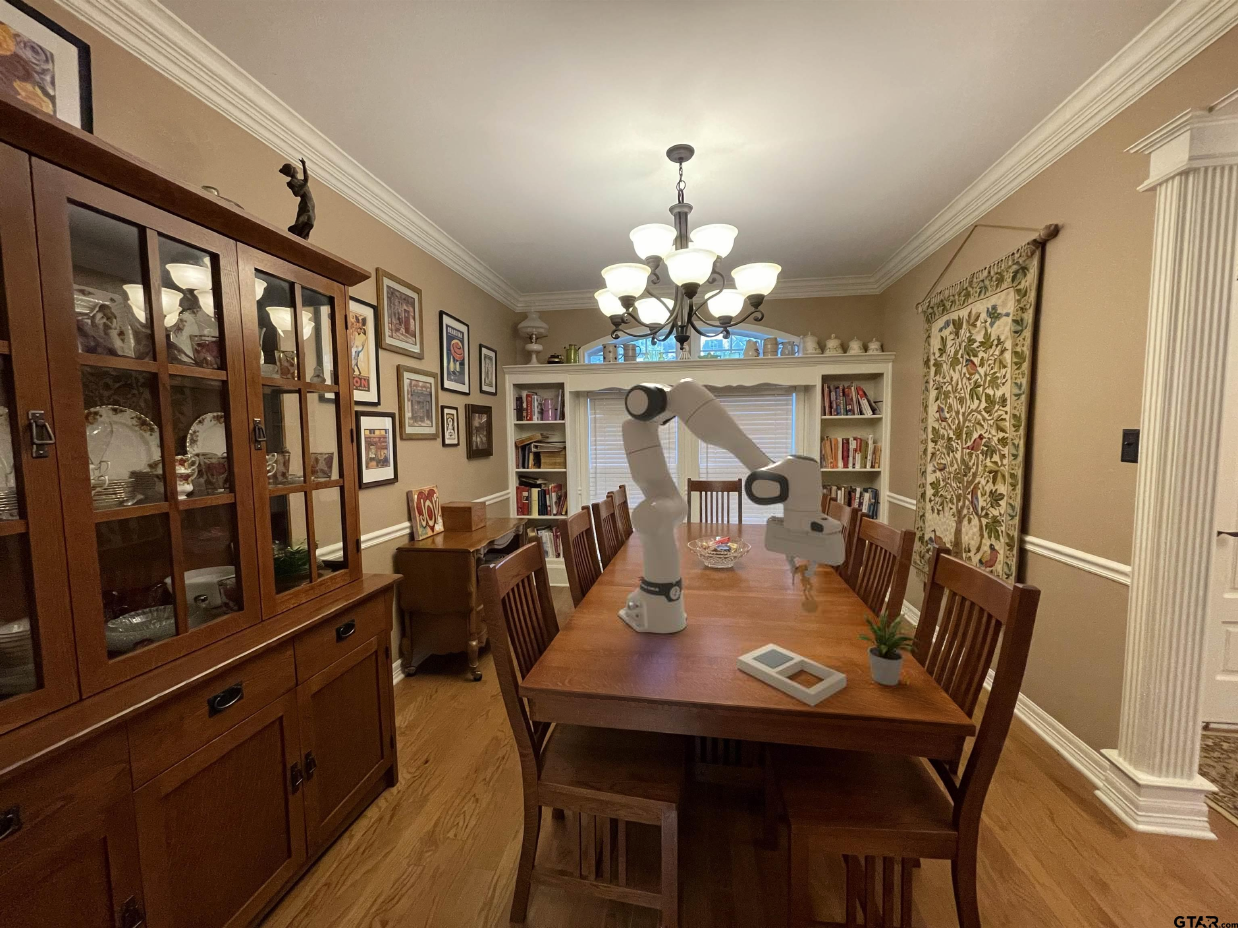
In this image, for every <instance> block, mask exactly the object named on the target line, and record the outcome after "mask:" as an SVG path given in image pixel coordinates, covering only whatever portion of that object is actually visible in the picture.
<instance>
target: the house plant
mask: <svg viewBox="0 0 1238 928" xmlns="http://www.w3.org/2000/svg"><path fill="white" fill-rule="evenodd" d="M866 612H867V614H869V615H871V616H872V618H873V619H874V621H875V624H876V625H875V624H874V622H872V620H871V619H870V618H869V615H867V614H865V613H863V612H862V613H860V615H861V616H862V617H863V618H864V619H865V621H864V620H863V618H862V617H860V616H858V615H856V614H853V613H851V615H853V616H856V617H858V618H860V619H861V620H863V621H864V622H865V624H866V625H867V626H868V628H866V629H867V630H868V629H869V630H870V631H871V633H872V635H873V636H874V637H873V638H874V639H875V642H874V641H873V640H872V638H871V637H870V636H868V635H866V634H865V633H859V634H857V636H856V638H859V640H863V641H869V642H871V643H873V645H874V646H870V647H868V649H867V653H868V659H869V665H870V666H869V667H870V671H871V677H872V679H873V681H875V682H877V683H878V684H881V685H884V686H897V685H898V684H899V680H900V674H901V670H902V666H903V661H904V654H903V653H902V652H901V651H899V650H902V651H905V652H907V653H909V654H910V655H911V656H912V651H911V649H912V650H914V651H916V652H917V653H919V652H918V648H917V647H915V645H912V644H910V643H906V642H909V641H910V642H911V641H912V642H916V643H917V642H918V643H922V642H921V641H919V640H917V639H916V638H913V637H908V636H904V633H906V634H910V632H909V631H907V630H908V629H909V628H913V627H917V626H919V625H918V624H912V625H909V626H907V627H905V628H903V629H902V630H899V631H898V629H899V627H900V625H902V621H903V618H904V617H905V615H906V614H907V612H905V613H902V614H900V615H898V616H897V617H896V618H895V620H894V621H893V622H892V623H891V624H890V625H889V627H888V614H889V609H887V610H886V611H885V615H883V614H882V612H881V611H878V614H879V621H880V625H881V626H880V625H878V622H877V620H876V618H875V617H874V615H873V614H872V613H870V612H869V611H866ZM846 614H848V615H850V613H846ZM887 627H888V629H887ZM909 648H910V649H909Z"/></svg>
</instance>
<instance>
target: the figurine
mask: <svg viewBox="0 0 1238 928" xmlns="http://www.w3.org/2000/svg"><path fill="white" fill-rule="evenodd" d="M797 566H798V569H797V570H796V571H794V572H793V574H792V573H791V574H792V577H791V578H792V582H791V586H792V587H796V583H795V575H797V574H796V573H798V572H799V573H798V574H799V575H800V576H801V579H799V581H800V583H801V586H802V587H803V589H802V591H803V594H804V595H803V596H804V598H803V599H802V600H801V603H800V607H801V609H802V610H803V612H805V613H806V614H811V615H812V614H815V613H816V612H817V611H818V610H819V605H820V604H819V603H818V600H817V599H816V598H814V596H813V595H812V593H811V590H812V589H813V588H814V585H813V583H812V581H811V578H808V577H805V570H807V569H809V567H810V566H808V564H807V563H805V564H803V563H802V564H799V565H797ZM814 576H815V577H817V578H818V580H819V581H821V579H820V577H819V575H818V574H817V573H816V571H815V570H814ZM806 591H807V593H808V596H807V593H806Z"/></svg>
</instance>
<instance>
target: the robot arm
mask: <svg viewBox="0 0 1238 928" xmlns="http://www.w3.org/2000/svg"><path fill="white" fill-rule="evenodd" d="M626 392H627V393H626V395H625V396H624V397H625V398H624V406H625V410H626V412H627V414H628V415H629V416H628V417H626V419H625V420H623V423H622V424H621V437H622V443H623V448H624V453H625V456H626V461H627V464H628V467H629V472H630V475H631V479H632V480H633V483H634V484H636V486H638V488H639V489H640V491H641V493H642V494H643V497H644V499H642V500H641V501H640V502H639V503H638V504H636V506H635V507H634V508H633V510H632V511H631V516H630V521H631V525H632V527H633V529H634V530H635V532H637V534H638V538H639V542H640V545H641V546H640V547H641V551H642V568H643V573H642V574H643V575H642V576H639V577H637V579H638V580H637V581H638V582H640V583H639V587H638V588H637V589H636V590H634V591H633V592H632V593H630V594H629V595H628V596H627V597H626V601H625V607H624V608H622V609H620V610H619V611H618V616H619V617H620V618H621V619H622V620H623V621H624V622H625V623H627V624H628V625H629V626H630V627H631V628H632V629H634V630H635V631H636V632H638V633H653V634H654V633H655V634H670V633H676V632H680V631H682V630H684V629H685V628H686V627H687V622H686V621H687V620H686V619H687V617H688V616H687V613H686V612H685V604H684V595H683V592H682V590H683V578H682V576H681V552H680V549H679V548H678V546H677V542H676V539H675V532H674V531H675V528H676V527H679V526H680V525H682V523H683V522H684V520H685V519H686V518H687V516H688V513H689V504H688V502H687V500H686V499H685V497H684V496H683V495H682V494H681V493H680V490H679V489H678V487H677V485H676V482H675V481H674V479H673V476H672V475H671V472H670V470H669V467H668V464H667V460H666V457H665V453H664V450H663V445H662V443H661V439H660V437H659V428H660V426H665V425H667V424H668V423H670V422H671V421H672V420H673V419H675V418H676V417H677V418H678V419H679V420H680V421H681V422H682V423H683V424H684V425H685V427H686V428H687V429H688V430H689V432H691V434H693V435H694V436H695V437H696V438H697V439H698V440H700V441H701V442H702V443H703V444H707V445H710V446H714V447H717V448H719V449H722V450H724V451H727V452H729V453H730V454H732V455H733V456H734V457H735V458H736V459H737V460H738V461H739V462H740V463H741V464H742V465H743V466H744V467H745V468H746V469H747V471H748V472H750V473H749V474H748V476H747V477H746V479H745V481H744V486H743V487H744V488H743V490H744V493H745V495H746V496H747V498H748V499H749V501H750V502H752V503H753V504H755V505H758V506H764V507H765V506H767V507H768V506H772V505H778V504H781V505H782V507H783V508H782V509H783V512H782V513H783V514H782V515H783V516H776V515H771V516H770V517H768V518H767V519H766V520H765V521H766V524H765V528H766V529H765V534H764V545H763V546H764V548H765V550H766V551H767V552H771V553H776V554H779V555H780V554H781V555H784V556H785V560H786V562H787V564H788V566H789V573H790V574H793V572H794V571H796V570H797V569H798V566H799V565H797V563H796V561H795V559H796V558H798V559H802V560H806V561H808V565H810V566H808V567H809V569H807V570H805V577H807V578H810V579H813V578H814V577H815V574H814V571H815V570H816V569H817V567H818V566H819V564H826V565H829V566H834V567H835V566H839V565H842V564H843V563H844V561H845V559H846V548H845V547H846V546H845V539H844V536H843V534H842V533H841V532H840V531H842V530H843V523H842V522H841V521H839V520H837V519H834V518H832V517H830V516H828V515H827V514H824V513H823V511H822V510H823V508H822V505H821V496H822V494H823V493H822V492H823V487H822V486H823V484H822V483H823V482H822V480H823V479H822V469H821V465H820V463H819V462H818V460H817V459H816V458H814V457H812V456H808V455H802V454H788V455H786V456H785V457H784V458H783V459H781V460H779V461H776V462H775V461H774V460H772V459H771V458H770V457H769V456H768V455H767V454H766V453H765V452H764V451H763V450H762V449H761V448H760V447H759V446H758V445H757V444H756V443H755V442H754V441H753V440H752V439H751V438H750V437H749V436H748V435H747V434H746V433H745V432H744V431H743V429H742V428H741V427H740V426H739V424H738V423H737V422H736V421H735V420H734V418H733V417H732V416H731V414H730V413H729V412H728V411H727V409H726V408H725V406H724V405H722V403H721V402H720V401H719V400H718V399H717V398H716V397H715V396H714V395H713V394H712V392H710V391H709V390H708V389H707V388H706V387H704V385H702V384H701V383H700V382H698V381H697V380H695V379H693V378H683V379H681V380H679V381H677V383H675V384H674V385H671V384H665V383H661V382H654V383H653V382H652V383H648V382H644V383H643V382H642V383H638V384H636V385H633V386H632V387H631V388H630V389H629V390H627V391H626ZM797 574H800V573H799V572H798V573H796V574H795V575H797Z"/></svg>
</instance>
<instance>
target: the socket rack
mask: <svg viewBox="0 0 1238 928" xmlns="http://www.w3.org/2000/svg"><path fill="white" fill-rule="evenodd" d="M736 660H737V661H736V663H737V664H736V666H737V669H739V670H740V671H743V672H745V673H746V674H748V675H750V676H752V677H754V678H756V679H758V680H761V682H764V683H766V684H768V685H770V686H772V687H774V688H775V689H778V690H780V691H781V692H783V693H786V695H789V696H792V697H794V698H795V699H798V700H799V701H801V702H803V703H806V704H807V705H809V706H810V707H814V706H815V705H817V704H819V703H821V702H822V701H824V700H825V699H827V698H830V696H832V695H834V694H835V693H837V692H839V691H841V690H843V689H844V688H845V687H847V675H846V674H845V673H842V672H839V671H836V670H834V669H832V668H831V667H827V666H825V665H823V664H820V663H818V662H815V661H814V660H812V659H809V658H806V657H804V656H802V655H799V654H797V653H795V652H792V651H790V650H788V649H785V648H782V647H781V646H778V645H777V644H773V643H769V644H766V645H764V646H762V647H760V648H757V649H754V650H752V651H750V652H748V653H745V654H742V655H741V656H738V657H737V659H736ZM802 670H803V671H805V672H806V673H809V674H812V675H813V676H816V677H818V678H820V679H822V681H820V682H818V683H817V684H815V685H813V686H811V687H810V688H807V687H805V686H804V685H801V684H799V683H797V682H795V681H793V680H790V679H789V678H788V677H789V676H793V674H796V673H798V672H800V671H802Z"/></svg>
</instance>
